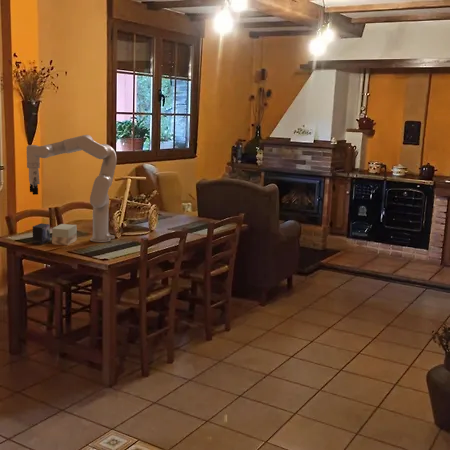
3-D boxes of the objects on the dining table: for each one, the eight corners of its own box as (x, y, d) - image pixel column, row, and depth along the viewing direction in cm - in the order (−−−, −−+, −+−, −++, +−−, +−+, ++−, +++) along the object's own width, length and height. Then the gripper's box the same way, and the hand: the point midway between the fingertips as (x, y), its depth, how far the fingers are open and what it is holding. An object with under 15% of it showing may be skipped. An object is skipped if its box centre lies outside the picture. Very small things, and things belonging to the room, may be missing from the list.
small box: (42, 244, 355) (41, 227, 353) (32, 243, 356) (31, 226, 354) (50, 240, 365) (50, 224, 363) (40, 239, 366) (40, 223, 364)
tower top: (76, 232, 368) (76, 225, 367) (68, 237, 355) (68, 229, 354) (61, 231, 369) (61, 223, 368) (52, 236, 356) (52, 228, 355)
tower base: (76, 240, 369) (76, 232, 368) (68, 245, 356) (68, 237, 355) (61, 239, 370) (61, 231, 369) (52, 244, 357) (52, 236, 356)
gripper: (42, 167, 356) (42, 195, 359) (37, 163, 371) (37, 190, 374) (29, 167, 352) (30, 195, 356) (24, 163, 367) (25, 191, 371)
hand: (33, 193), depth 365 cm, fingers open, 9 cm apart
